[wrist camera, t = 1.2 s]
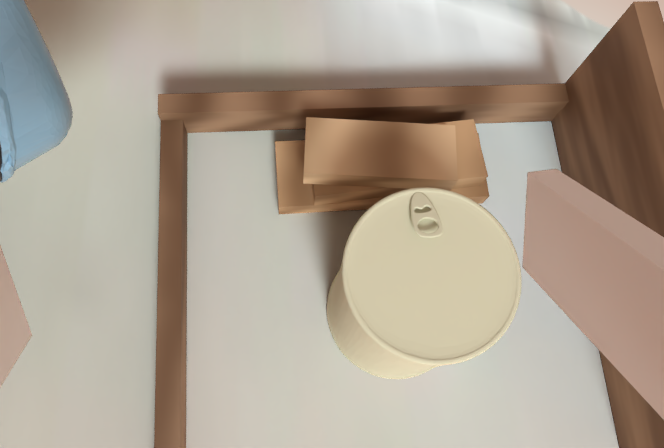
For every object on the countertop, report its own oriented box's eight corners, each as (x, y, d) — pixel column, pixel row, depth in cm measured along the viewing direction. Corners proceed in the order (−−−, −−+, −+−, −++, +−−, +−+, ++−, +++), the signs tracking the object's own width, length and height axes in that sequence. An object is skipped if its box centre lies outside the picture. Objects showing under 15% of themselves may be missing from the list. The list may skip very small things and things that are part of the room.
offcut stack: (279, 216, 42) (277, 189, 36) (275, 149, 43) (273, 114, 38) (481, 206, 43) (507, 178, 38) (470, 141, 45) (494, 105, 39)
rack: (160, 487, 35) (99, 523, 24) (166, 115, 43) (122, 8, 32) (641, 446, 38) (791, 462, 27) (566, 103, 46) (657, 1, 34)
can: (444, 238, 42) (503, 173, 30) (472, 368, 39) (547, 351, 28) (318, 253, 41) (329, 192, 29) (337, 388, 38) (357, 378, 27)
